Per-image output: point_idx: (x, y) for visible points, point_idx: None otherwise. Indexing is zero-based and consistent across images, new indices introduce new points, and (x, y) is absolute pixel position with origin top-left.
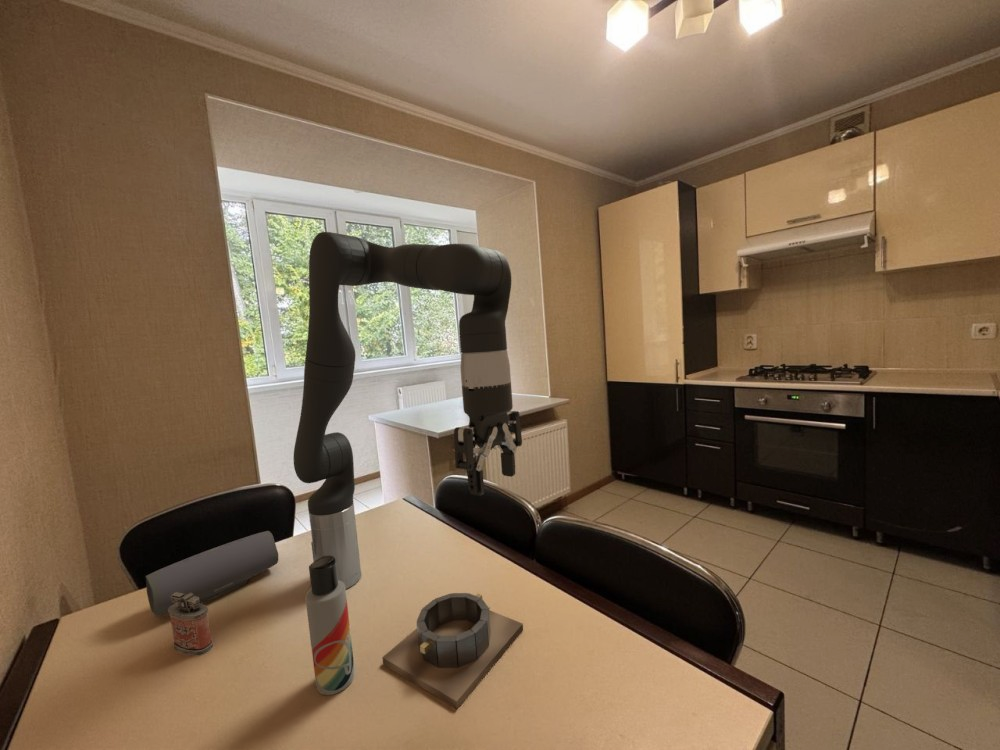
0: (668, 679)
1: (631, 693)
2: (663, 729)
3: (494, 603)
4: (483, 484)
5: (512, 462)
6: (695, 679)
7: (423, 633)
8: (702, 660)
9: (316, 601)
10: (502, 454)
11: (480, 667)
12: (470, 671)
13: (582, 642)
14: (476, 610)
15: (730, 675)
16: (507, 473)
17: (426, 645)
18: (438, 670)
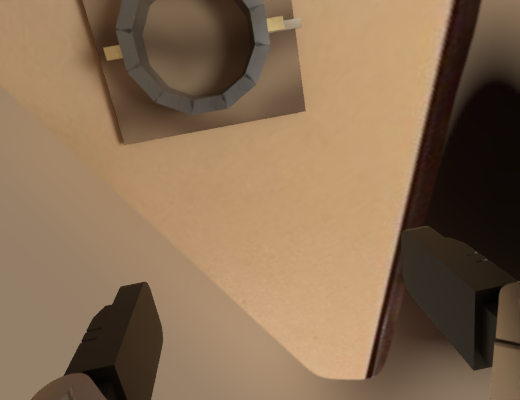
0: (343, 303)
1: (298, 284)
2: (278, 325)
3: (326, 10)
4: (155, 369)
5: (446, 333)
6: (361, 322)
7: (119, 31)
8: (393, 318)
9: None
10: (472, 300)
11: (188, 126)
12: (172, 119)
13: (336, 198)
14: (253, 43)
15: (388, 344)
16: (407, 264)
17: (113, 57)
18: None
